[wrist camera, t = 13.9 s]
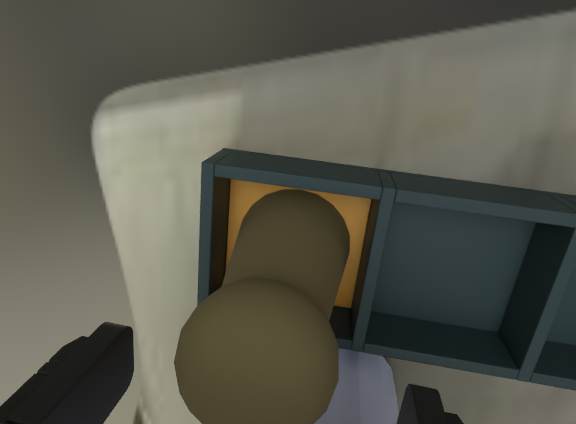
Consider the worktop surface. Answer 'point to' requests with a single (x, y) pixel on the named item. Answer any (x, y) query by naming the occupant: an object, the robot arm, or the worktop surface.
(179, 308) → the worktop surface
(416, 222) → the tray
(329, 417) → the soap bottle
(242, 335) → the cork
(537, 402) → the worktop surface
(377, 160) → the worktop surface
